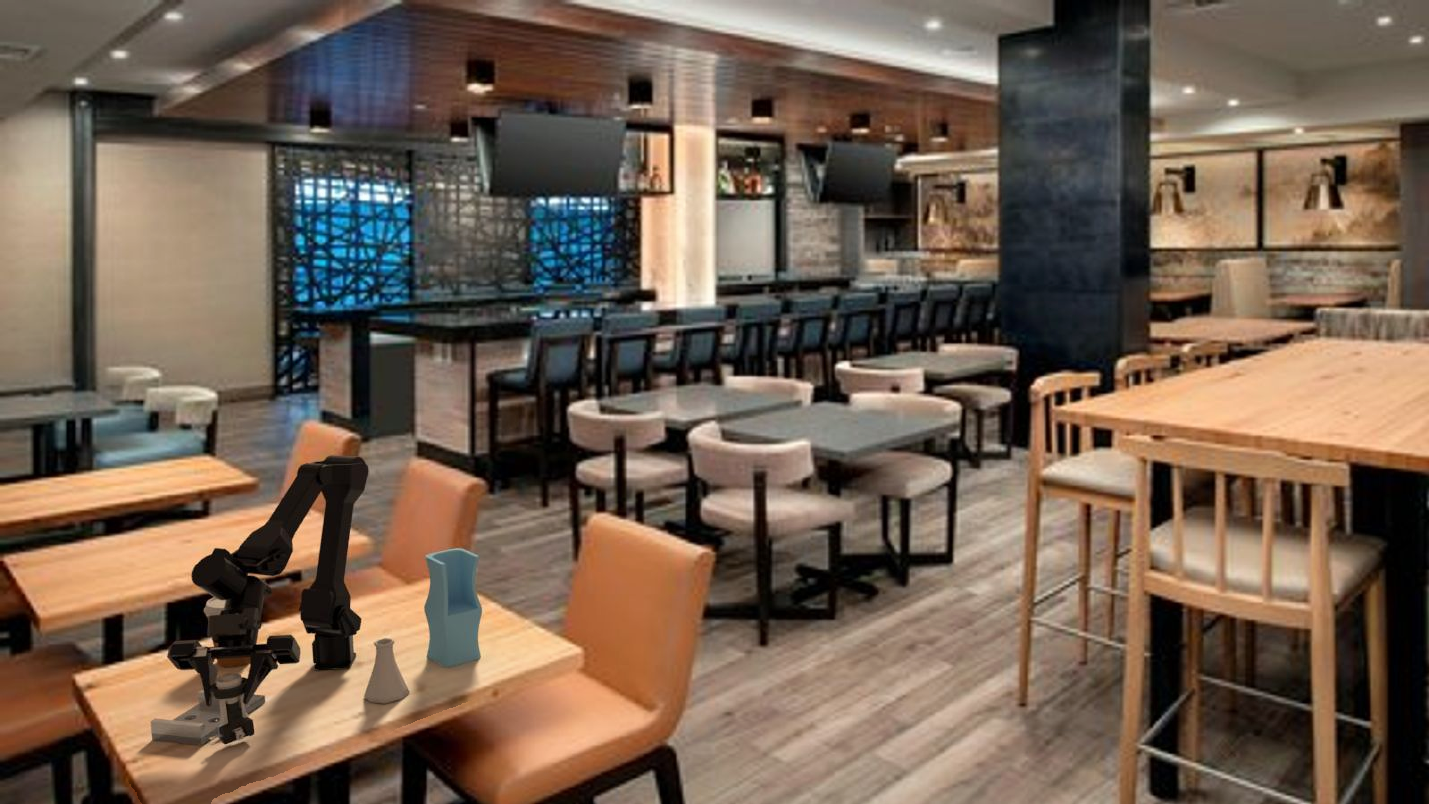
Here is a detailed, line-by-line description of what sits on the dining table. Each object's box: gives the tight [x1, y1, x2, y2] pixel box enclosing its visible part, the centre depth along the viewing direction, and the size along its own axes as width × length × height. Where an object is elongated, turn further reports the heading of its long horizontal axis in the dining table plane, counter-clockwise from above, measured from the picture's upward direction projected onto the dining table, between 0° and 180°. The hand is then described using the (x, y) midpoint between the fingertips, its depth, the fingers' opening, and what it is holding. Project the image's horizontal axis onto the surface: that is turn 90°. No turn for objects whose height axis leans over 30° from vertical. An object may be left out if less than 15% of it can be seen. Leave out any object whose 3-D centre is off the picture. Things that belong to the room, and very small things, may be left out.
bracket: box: [150, 689, 266, 747], centre depth 172 cm, size 16×9×3 cm, turn 168°
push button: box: [209, 673, 255, 746], centre depth 163 cm, size 7×5×10 cm
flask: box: [363, 637, 410, 704], centre depth 181 cm, size 7×7×10 cm
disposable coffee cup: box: [203, 597, 250, 668], centre depth 196 cm, size 10×10×12 cm
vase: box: [423, 547, 483, 668], centre depth 197 cm, size 8×8×20 cm
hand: (226, 704), depth 161 cm, fingers closed on push button, 5 cm apart
